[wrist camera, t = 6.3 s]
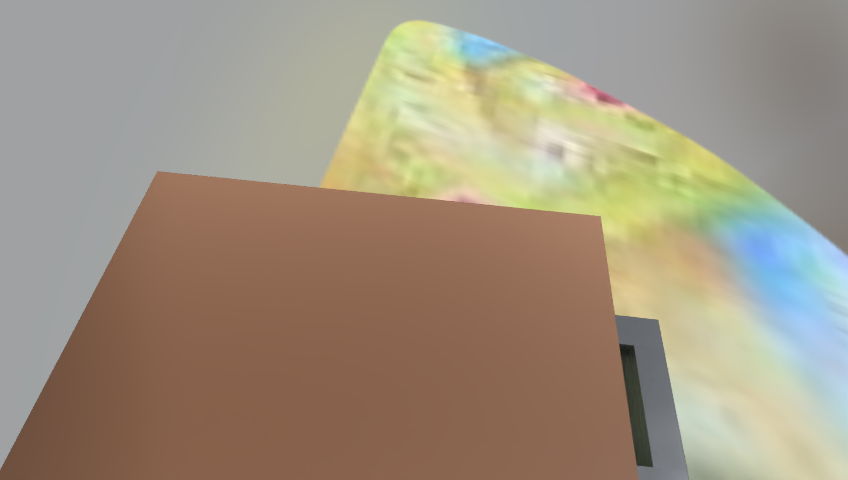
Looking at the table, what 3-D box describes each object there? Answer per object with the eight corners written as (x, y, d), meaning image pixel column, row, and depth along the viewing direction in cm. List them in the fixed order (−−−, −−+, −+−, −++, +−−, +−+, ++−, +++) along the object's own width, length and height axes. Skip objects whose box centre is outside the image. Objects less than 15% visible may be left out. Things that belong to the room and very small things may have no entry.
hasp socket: (669, 508, 15) (695, 511, 14) (487, 489, 15) (496, 490, 14) (639, 330, 18) (658, 319, 17) (490, 314, 18) (497, 302, 17)
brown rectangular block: (438, 540, 13) (714, 1016, 2) (326, 528, 13) (-229, 911, 2) (446, 418, 15) (599, 217, 3) (347, 407, 15) (157, 171, 3)
